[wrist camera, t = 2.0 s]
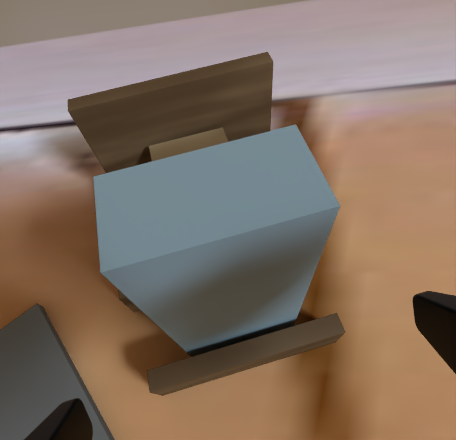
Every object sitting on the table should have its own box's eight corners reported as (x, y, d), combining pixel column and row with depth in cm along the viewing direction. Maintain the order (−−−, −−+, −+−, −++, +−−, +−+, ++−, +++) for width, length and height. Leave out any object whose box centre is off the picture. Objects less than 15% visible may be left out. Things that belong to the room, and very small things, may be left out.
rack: (352, 337, 19) (406, 290, 12) (144, 401, 18) (74, 390, 11) (265, 145, 27) (267, 51, 20) (118, 184, 26) (67, 99, 19)
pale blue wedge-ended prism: (292, 327, 19) (340, 205, 8) (192, 358, 19) (99, 272, 8) (275, 281, 21) (295, 124, 10) (182, 307, 20) (93, 176, 9)
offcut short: (238, 201, 24) (235, 160, 20) (172, 219, 24) (155, 180, 20) (228, 170, 26) (222, 127, 22) (165, 187, 25) (148, 145, 22)
